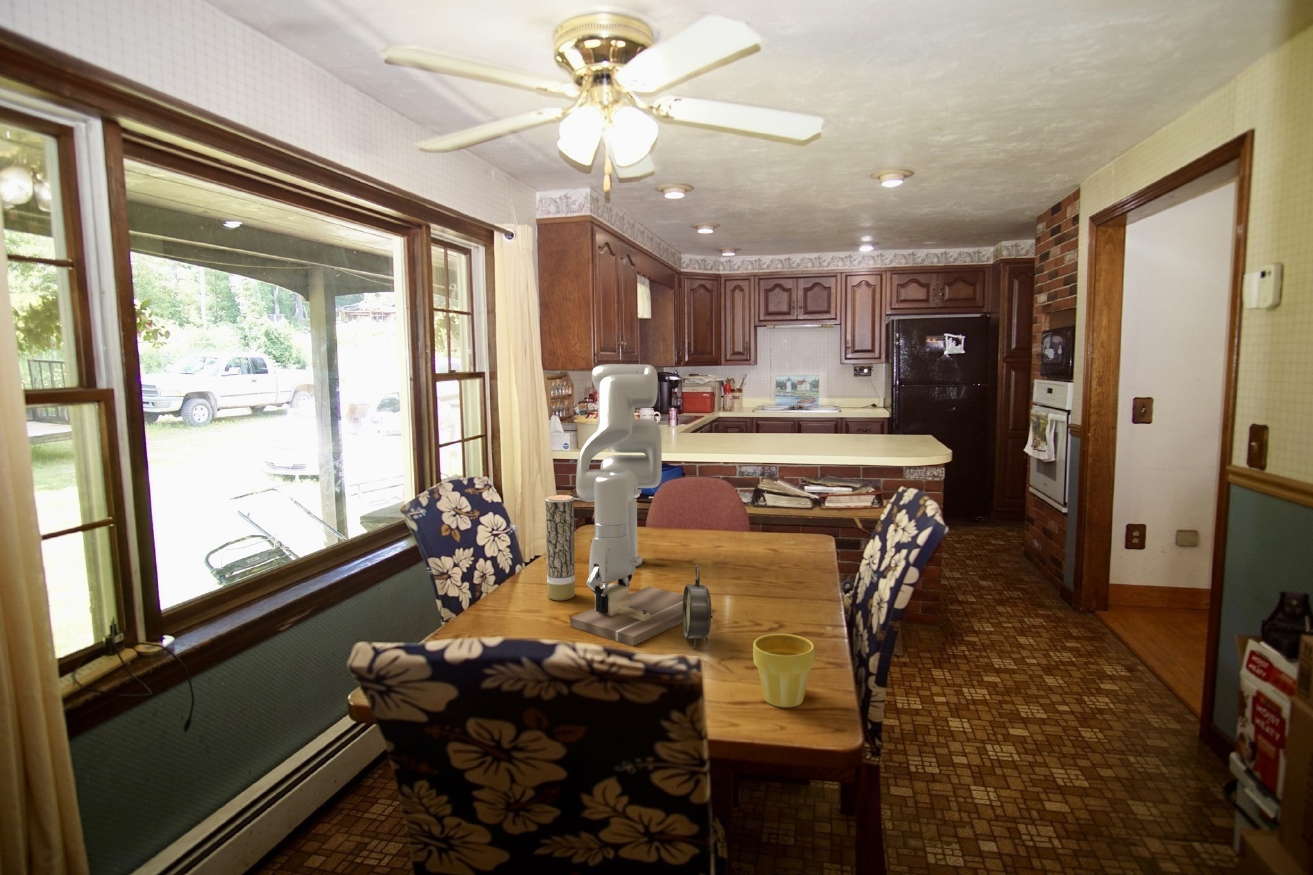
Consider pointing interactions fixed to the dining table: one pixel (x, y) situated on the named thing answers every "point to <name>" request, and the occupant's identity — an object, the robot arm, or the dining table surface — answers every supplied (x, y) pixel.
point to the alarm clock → (696, 611)
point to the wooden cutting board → (631, 630)
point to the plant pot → (783, 667)
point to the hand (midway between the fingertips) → (612, 607)
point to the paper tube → (560, 547)
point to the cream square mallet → (622, 603)
